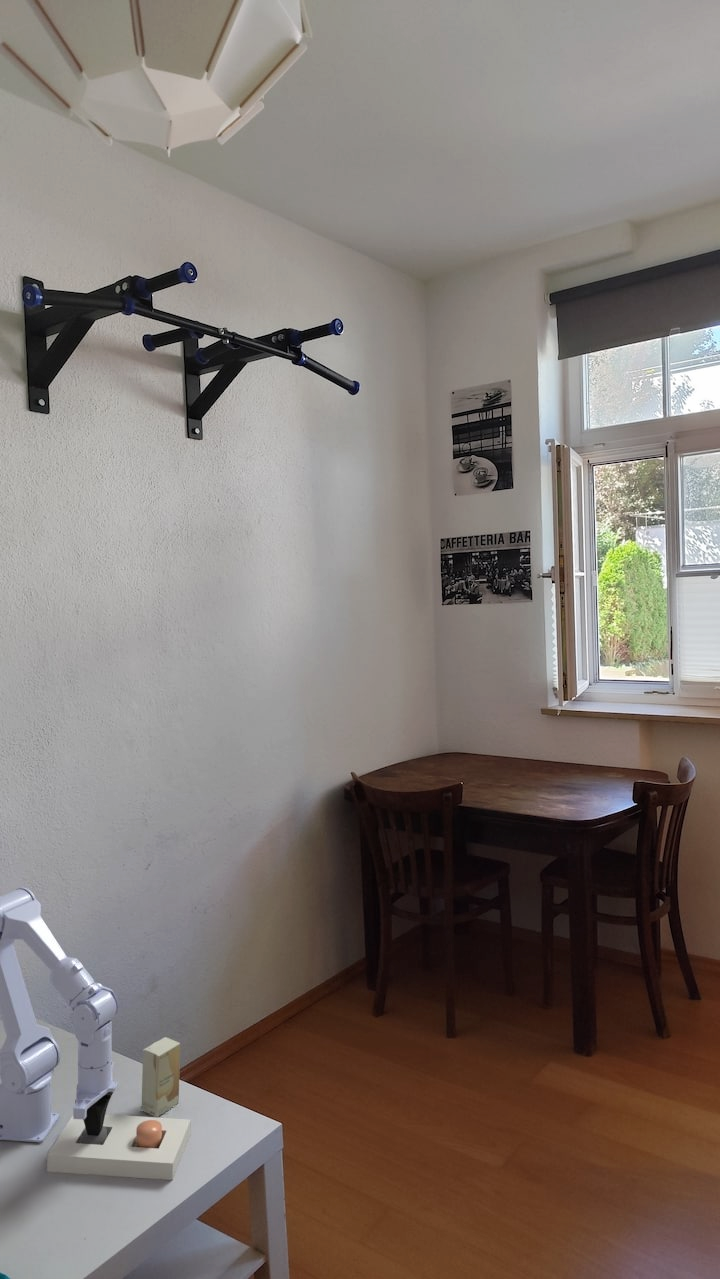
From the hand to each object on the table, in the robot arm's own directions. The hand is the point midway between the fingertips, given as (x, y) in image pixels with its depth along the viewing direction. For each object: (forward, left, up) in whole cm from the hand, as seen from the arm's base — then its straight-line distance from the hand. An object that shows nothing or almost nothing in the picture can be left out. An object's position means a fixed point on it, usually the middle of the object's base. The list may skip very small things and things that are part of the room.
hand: (94, 1133), depth 153 cm
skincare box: (+8, +14, -4) cm, 17 cm away
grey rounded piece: (0, 0, -3) cm, 3 cm away
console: (+5, 0, -3) cm, 6 cm away
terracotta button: (+10, 0, -1) cm, 10 cm away
